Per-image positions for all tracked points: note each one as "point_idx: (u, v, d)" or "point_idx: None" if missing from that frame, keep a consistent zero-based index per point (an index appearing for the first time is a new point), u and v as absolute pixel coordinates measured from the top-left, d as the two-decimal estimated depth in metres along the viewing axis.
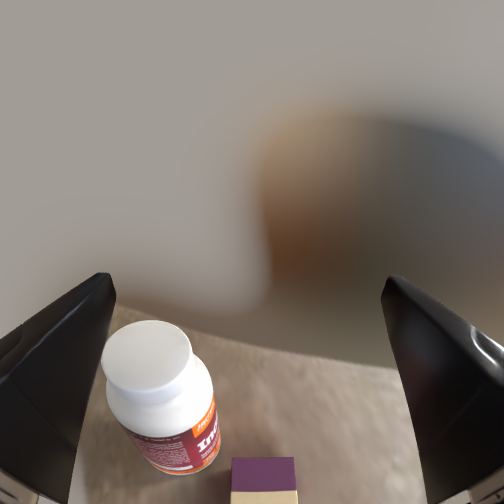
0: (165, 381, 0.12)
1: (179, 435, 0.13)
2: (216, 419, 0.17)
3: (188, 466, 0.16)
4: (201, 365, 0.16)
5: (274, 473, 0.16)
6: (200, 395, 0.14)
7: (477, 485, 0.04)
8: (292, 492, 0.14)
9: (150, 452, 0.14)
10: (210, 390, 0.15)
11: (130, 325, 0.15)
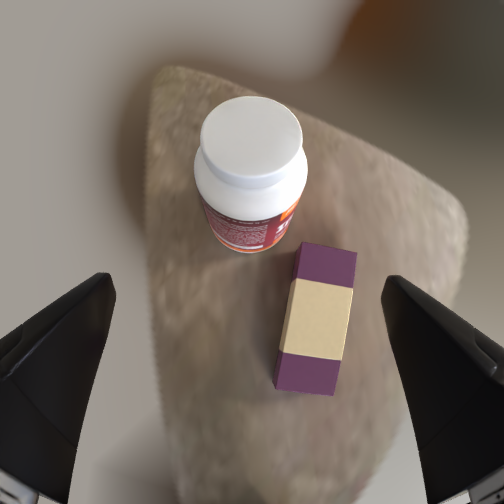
0: (275, 166, 0.13)
1: (268, 219, 0.16)
2: None
3: (259, 246, 0.21)
4: None
5: (337, 266, 0.21)
6: (298, 180, 0.15)
7: (477, 485, 0.04)
8: (349, 289, 0.20)
9: (229, 232, 0.19)
10: (306, 175, 0.16)
11: (232, 100, 0.14)
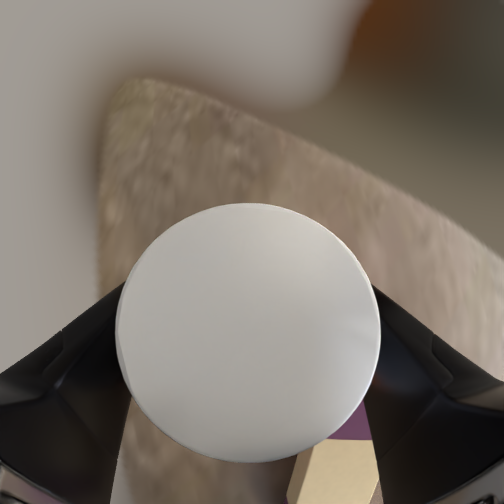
0: (309, 438, 0.04)
1: None
2: None
3: None
4: None
5: None
6: None
7: None
8: None
9: None
10: None
11: (195, 222, 0.05)
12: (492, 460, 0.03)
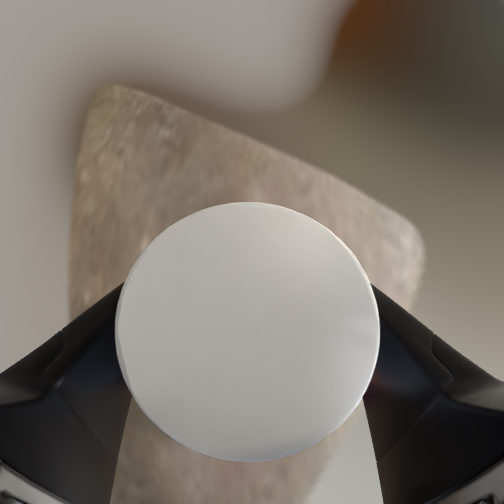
0: (308, 436, 0.04)
1: None
2: None
3: None
4: None
5: None
6: None
7: None
8: None
9: None
10: None
11: (195, 220, 0.05)
12: (492, 460, 0.03)
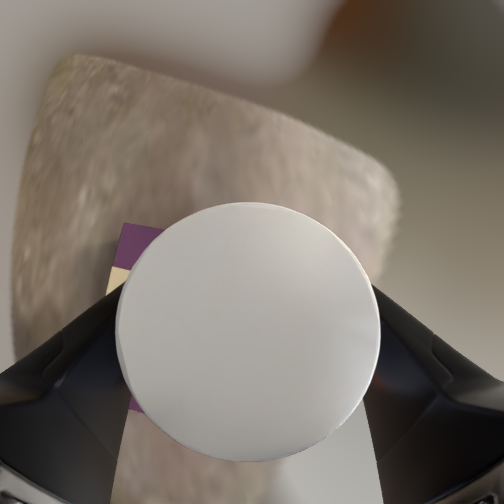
0: (309, 437, 0.04)
1: None
2: None
3: None
4: None
5: None
6: None
7: None
8: None
9: None
10: None
11: (195, 220, 0.05)
12: (492, 460, 0.03)
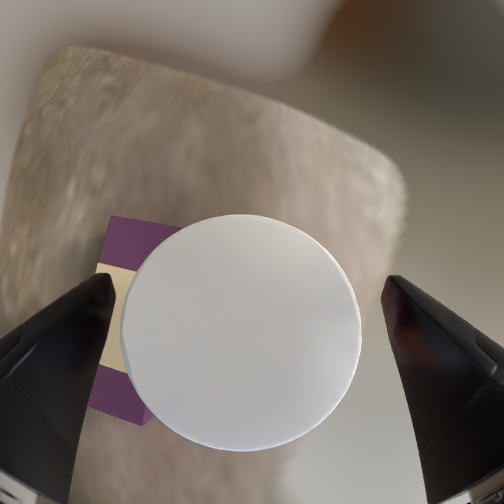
0: (295, 429, 0.05)
1: None
2: None
3: None
4: None
5: (150, 247, 0.14)
6: None
7: (477, 485, 0.04)
8: None
9: None
10: None
11: (193, 231, 0.06)
12: None
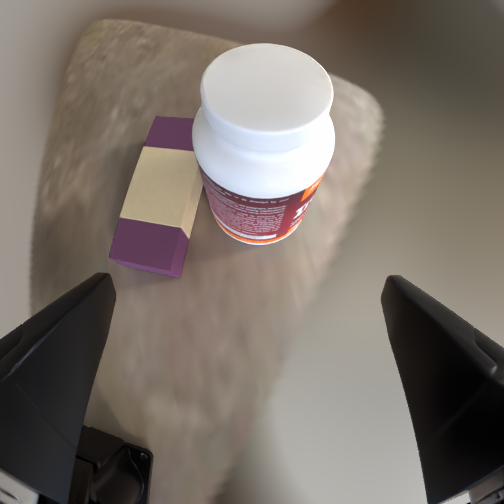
0: (302, 121, 0.09)
1: (288, 197, 0.12)
2: None
3: (272, 235, 0.17)
4: None
5: (187, 133, 0.18)
6: (326, 148, 0.11)
7: (477, 485, 0.04)
8: None
9: (236, 216, 0.15)
10: (334, 143, 0.12)
11: (242, 47, 0.10)
12: None
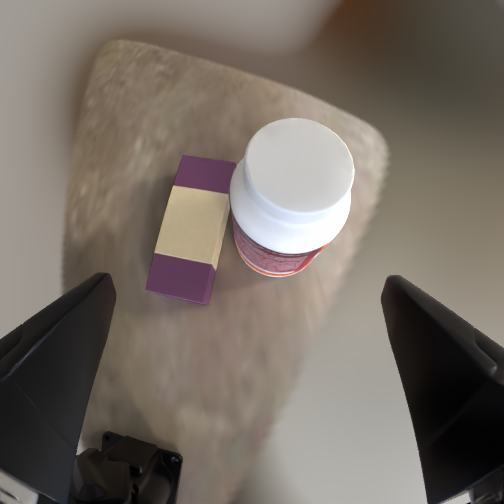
0: (329, 202, 0.12)
1: (311, 251, 0.15)
2: None
3: (291, 271, 0.20)
4: None
5: (213, 174, 0.21)
6: (344, 212, 0.14)
7: (477, 485, 0.04)
8: (223, 195, 0.21)
9: (263, 260, 0.18)
10: None
11: (277, 122, 0.13)
12: None
